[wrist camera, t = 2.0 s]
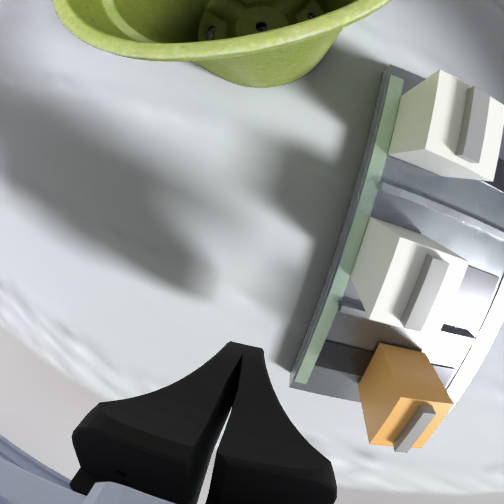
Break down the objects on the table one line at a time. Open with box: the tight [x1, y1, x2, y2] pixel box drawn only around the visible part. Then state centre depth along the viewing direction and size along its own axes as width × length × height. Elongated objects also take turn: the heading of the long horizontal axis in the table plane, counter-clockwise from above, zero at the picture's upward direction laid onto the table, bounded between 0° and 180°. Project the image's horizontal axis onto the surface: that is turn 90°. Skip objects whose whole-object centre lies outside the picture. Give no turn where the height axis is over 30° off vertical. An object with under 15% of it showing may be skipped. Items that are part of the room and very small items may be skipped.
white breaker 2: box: [350, 217, 469, 336], centre depth 10 cm, size 3×3×4 cm
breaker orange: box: [358, 343, 454, 452], centre depth 11 cm, size 3×3×4 cm
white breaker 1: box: [388, 70, 504, 182], centre depth 9 cm, size 3×3×4 cm
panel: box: [289, 65, 504, 414], centre depth 13 cm, size 10×15×2 cm, turn 166°
